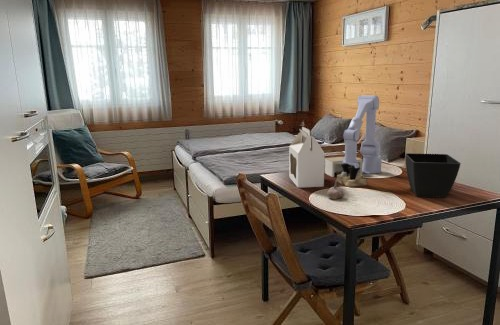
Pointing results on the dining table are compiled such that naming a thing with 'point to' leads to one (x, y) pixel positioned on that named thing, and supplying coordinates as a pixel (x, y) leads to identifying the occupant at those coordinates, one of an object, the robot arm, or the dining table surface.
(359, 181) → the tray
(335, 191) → the garlic bulb
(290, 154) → the gable box
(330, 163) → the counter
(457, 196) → the dining table surface
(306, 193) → the dining table surface
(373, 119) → the robot arm
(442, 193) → the flower pot
